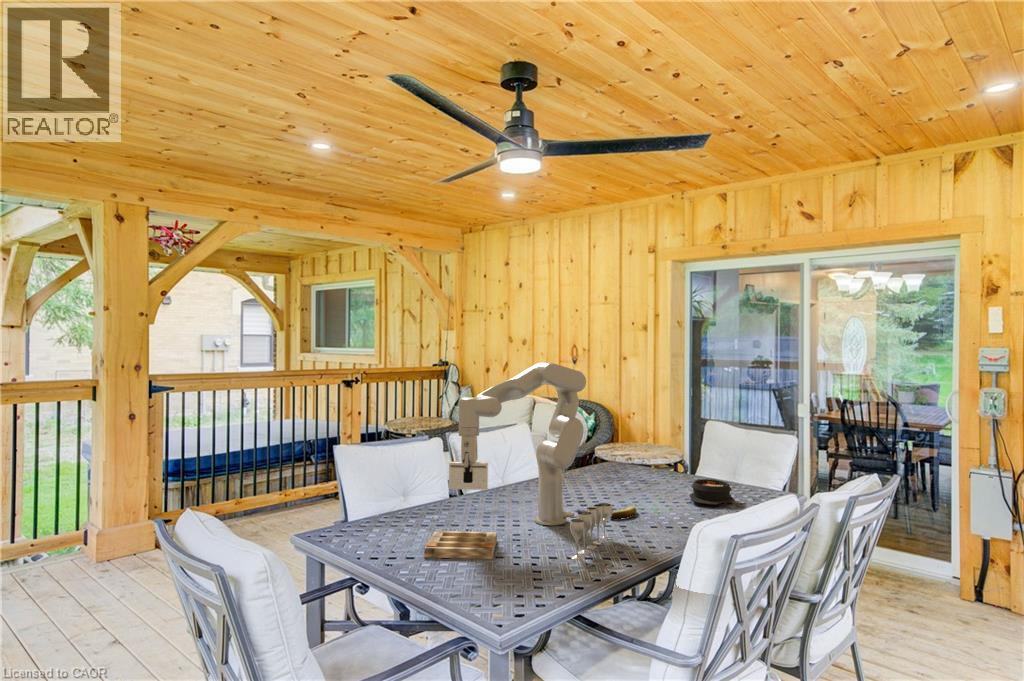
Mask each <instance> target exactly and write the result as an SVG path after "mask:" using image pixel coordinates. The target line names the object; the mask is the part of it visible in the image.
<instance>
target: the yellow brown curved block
mask: <svg viewBox="0 0 1024 681" xmlns="http://www.w3.org/2000/svg"><path fill="white" fill-rule="evenodd" d="M636 513H637V508H636V507H635V506H629V507H625V508H624V509H620V510H614V511H613V514H612V516H611V517H610V519H611V520H613V519H621V518H627V517H630V516H632V515H633V516H635V515H636ZM634 514H635V515H634ZM633 516H632V517H633ZM630 518H631V517H630ZM610 519H609V520H610ZM627 519H628V518H627Z"/></svg>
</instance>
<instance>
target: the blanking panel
mask: <svg viewBox="0 0 1024 681" xmlns="http://www.w3.org/2000/svg"><path fill="white" fill-rule="evenodd" d="M468 463H470V462H468ZM448 465H449V466H448V490H470V491H471V490H477V491H478V490H479V491H480V490H481V491H487V490H488V489H489V461H487V462H484V461H476V462H475V463H474V464H473V463H472V483H464V482H463V479H464V464H463V463H462V462H461V461H449V462H448ZM469 466H470V465H469Z"/></svg>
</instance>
